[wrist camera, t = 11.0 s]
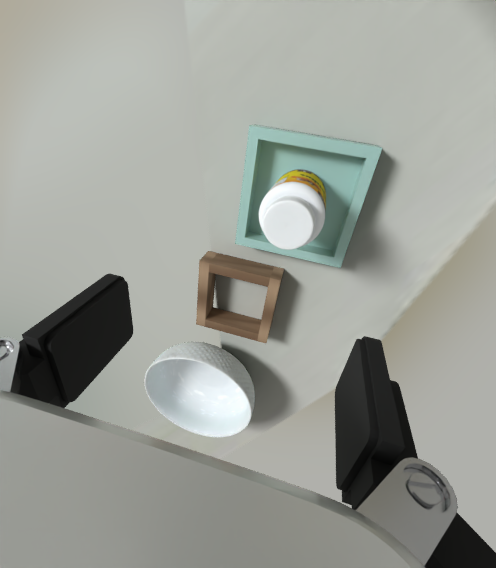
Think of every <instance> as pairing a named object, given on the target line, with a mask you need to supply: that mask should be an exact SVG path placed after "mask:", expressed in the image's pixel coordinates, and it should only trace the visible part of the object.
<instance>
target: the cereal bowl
mask: <svg viewBox="0 0 496 568" xmlns="http://www.w3.org/2000/svg"><path fill="white" fill-rule="evenodd" d="M145 389H146V392H147V395H148V397H149V399H150V400H151V402H152V403H153V405H154V406H155V407H156V409H157V410H159V412H160V413H161V414H162V415H163V416H165V417H166V418H167V419H168V420H170V421H171V422H173V423H174V424H176V425H177V426H179V427H181V428H183V429H185V430H188V431H190V432H193V433H196V434H199V435H203V436H208V437H227V436H232V435H235V434H237V433H239V432H241V431H242V430H244V429H245V428H246V427H247V426H248V424H249V422H250V420H251V418H252V414H253V409H254V404H255V392H254V386H253V383H252V380H251V377H250V375H249V374H248V372H247V370H246V369H245V367H244V366H243V365H242V363H240V362H239V360H237V359H236V358H235V357H234V356H233V355H231V354H230V353H228V352H227V351H226V350H223V349H221V348H219V347H217V346H214V345H211V344H207V343H201V342H187V343H182V344H178V345H175V346H172V347H171V348H168V349H167V350H165V351H164V352H163V353H162V354H161V355H160V356H158V357H157V359H156V360H154V362H153V363H152V364H151V365H150V367H149V368H148V370H147V372H146V375H145Z"/></svg>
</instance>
